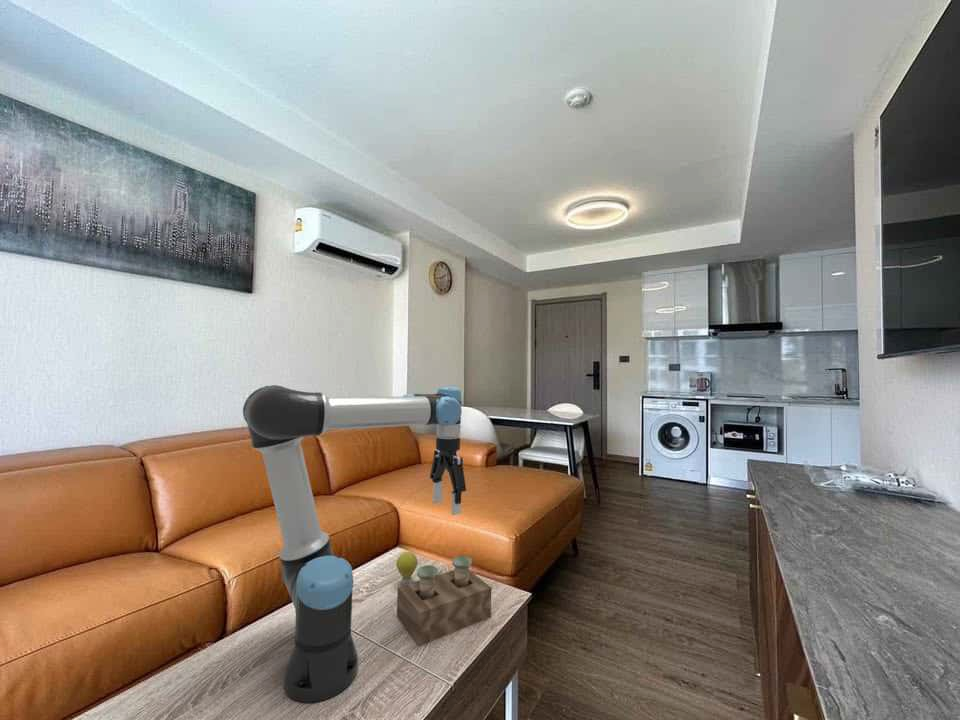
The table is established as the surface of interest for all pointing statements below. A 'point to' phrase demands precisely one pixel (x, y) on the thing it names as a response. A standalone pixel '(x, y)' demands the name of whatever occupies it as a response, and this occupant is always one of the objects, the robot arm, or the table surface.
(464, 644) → the table surface
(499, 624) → the table surface
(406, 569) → the yellow light bulb
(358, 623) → the table surface
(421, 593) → the near plunger
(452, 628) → the socket block
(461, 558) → the far plunger
